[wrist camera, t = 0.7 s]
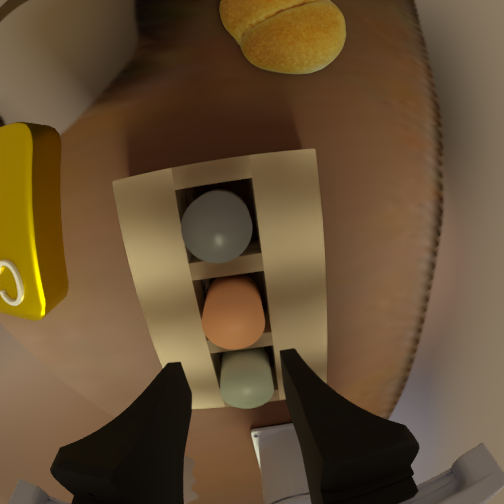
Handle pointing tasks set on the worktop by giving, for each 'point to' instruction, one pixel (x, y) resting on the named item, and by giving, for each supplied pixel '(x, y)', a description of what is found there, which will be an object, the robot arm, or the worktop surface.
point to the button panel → (230, 263)
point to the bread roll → (286, 33)
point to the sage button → (246, 378)
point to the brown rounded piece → (233, 312)
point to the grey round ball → (217, 226)
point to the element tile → (30, 221)
